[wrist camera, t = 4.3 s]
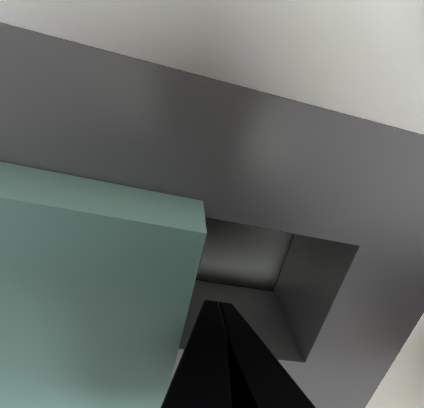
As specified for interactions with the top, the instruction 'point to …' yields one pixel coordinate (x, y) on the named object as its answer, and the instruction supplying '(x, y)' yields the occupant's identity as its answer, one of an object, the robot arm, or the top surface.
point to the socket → (244, 194)
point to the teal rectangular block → (92, 289)
